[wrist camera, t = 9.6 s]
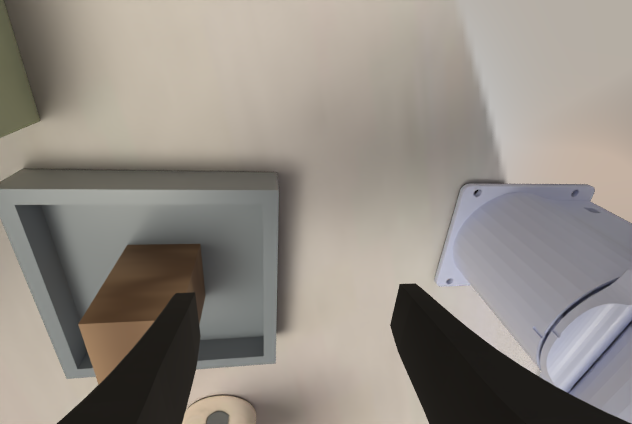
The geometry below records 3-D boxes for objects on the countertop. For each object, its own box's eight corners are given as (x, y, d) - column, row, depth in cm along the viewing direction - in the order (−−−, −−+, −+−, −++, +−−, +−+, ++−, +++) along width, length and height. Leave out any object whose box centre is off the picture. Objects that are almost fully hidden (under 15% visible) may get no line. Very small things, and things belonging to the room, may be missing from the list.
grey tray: (276, 172, 20) (278, 190, 17) (274, 334, 26) (275, 363, 23) (22, 168, 18) (-12, 189, 15) (84, 346, 24) (66, 378, 21)
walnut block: (200, 243, 20) (178, 319, 15) (205, 295, 22) (188, 379, 17) (127, 244, 20) (78, 324, 14) (139, 298, 21) (99, 386, 16)
